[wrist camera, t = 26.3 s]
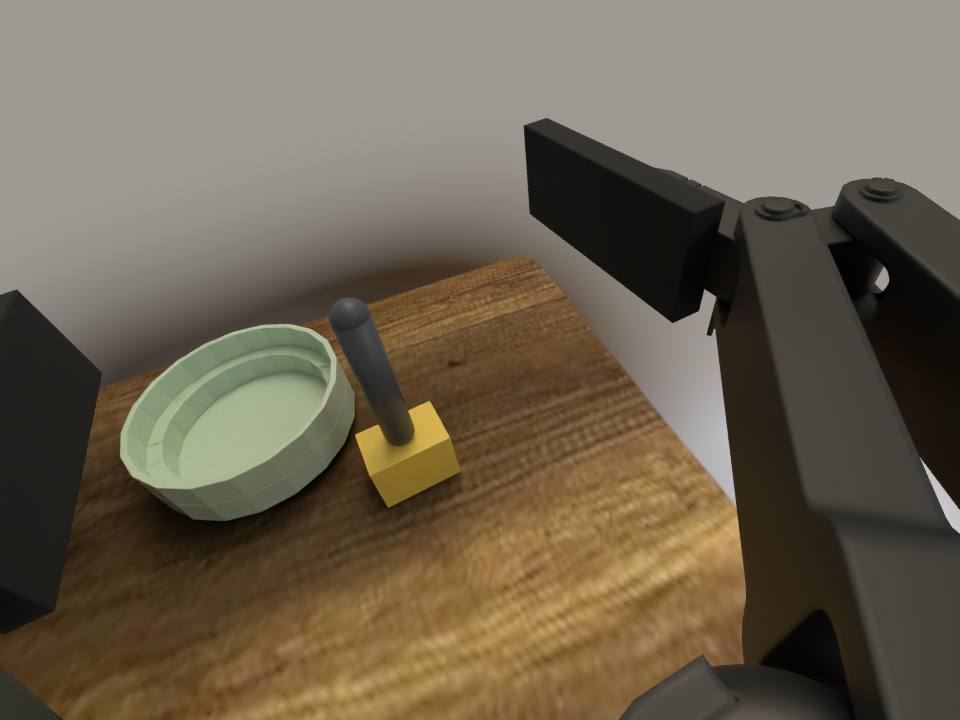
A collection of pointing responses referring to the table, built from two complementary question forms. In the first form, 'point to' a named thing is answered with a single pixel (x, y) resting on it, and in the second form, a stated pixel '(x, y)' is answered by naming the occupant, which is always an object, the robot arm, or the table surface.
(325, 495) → the table surface
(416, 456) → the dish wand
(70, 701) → the table surface
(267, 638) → the table surface
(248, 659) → the table surface
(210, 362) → the bowl
